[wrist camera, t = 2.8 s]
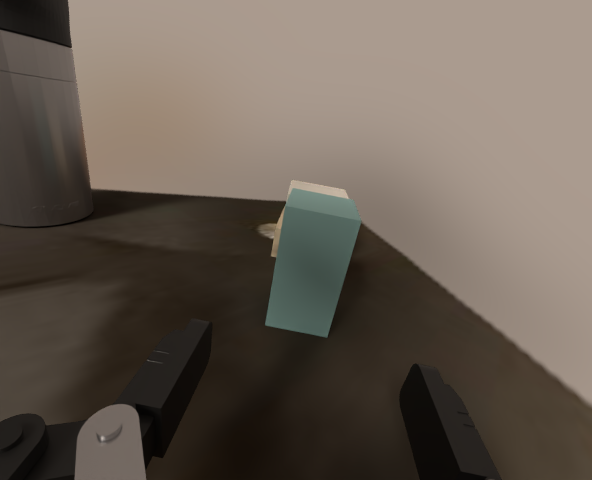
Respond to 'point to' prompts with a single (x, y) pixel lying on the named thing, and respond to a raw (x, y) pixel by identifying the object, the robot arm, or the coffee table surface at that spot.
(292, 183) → the tower top block
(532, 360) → the coffee table surface
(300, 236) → the teal block
